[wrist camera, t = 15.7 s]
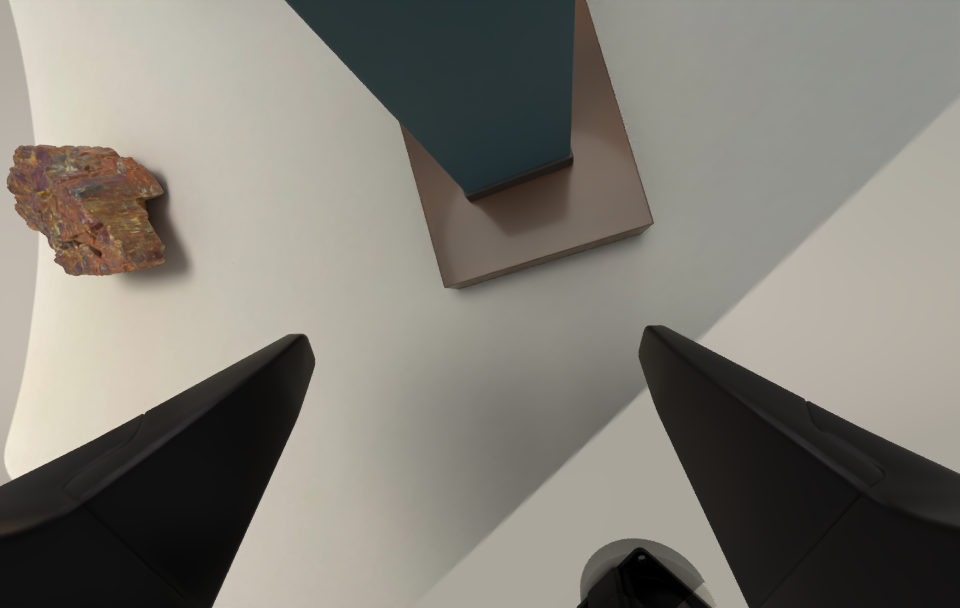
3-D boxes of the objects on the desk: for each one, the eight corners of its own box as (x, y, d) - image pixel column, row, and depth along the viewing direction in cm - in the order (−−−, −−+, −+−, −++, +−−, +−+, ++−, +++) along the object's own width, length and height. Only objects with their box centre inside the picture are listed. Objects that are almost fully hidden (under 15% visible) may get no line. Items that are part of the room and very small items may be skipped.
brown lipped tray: (643, 232, 19) (672, 207, 14) (457, 289, 22) (422, 286, 16) (561, -36, 20) (560, -157, 15) (391, 48, 23) (338, -29, 17)
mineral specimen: (180, 149, 25) (60, 171, 19) (222, 249, 29) (134, 291, 23) (59, 135, 27) (-76, 152, 22) (114, 229, 32) (12, 263, 26)
